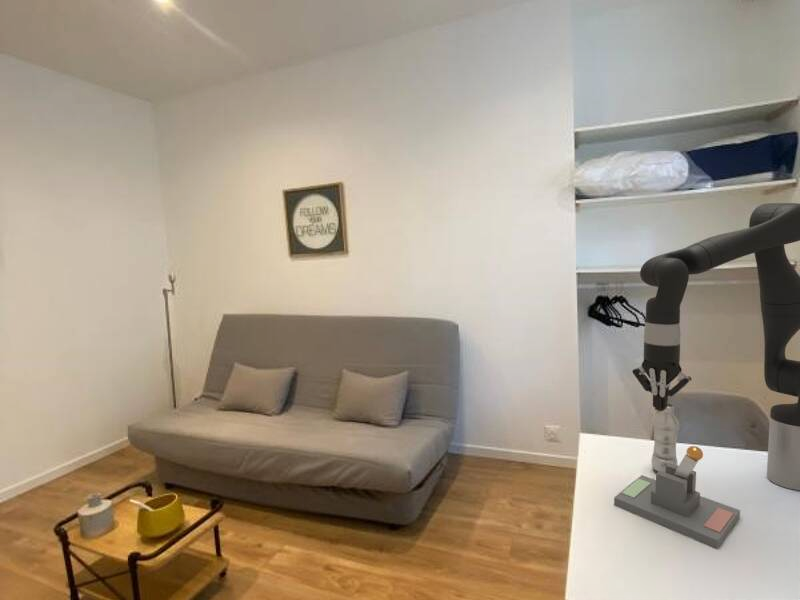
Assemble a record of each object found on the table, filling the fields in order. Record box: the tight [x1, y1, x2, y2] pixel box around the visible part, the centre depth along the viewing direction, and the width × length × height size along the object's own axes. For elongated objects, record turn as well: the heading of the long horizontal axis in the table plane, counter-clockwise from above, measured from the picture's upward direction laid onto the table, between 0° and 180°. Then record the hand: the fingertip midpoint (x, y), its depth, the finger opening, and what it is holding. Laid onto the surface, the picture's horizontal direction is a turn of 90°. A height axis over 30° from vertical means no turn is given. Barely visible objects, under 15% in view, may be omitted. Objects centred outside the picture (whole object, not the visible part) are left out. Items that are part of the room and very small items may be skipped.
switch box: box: [613, 463, 741, 550], centre depth 106 cm, size 16×22×10 cm
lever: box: [673, 445, 704, 480], centre depth 104 cm, size 3×3×13 cm
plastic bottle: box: [651, 402, 680, 473], centre depth 124 cm, size 6×7×20 cm
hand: (659, 409), depth 107 cm, fingers closed
